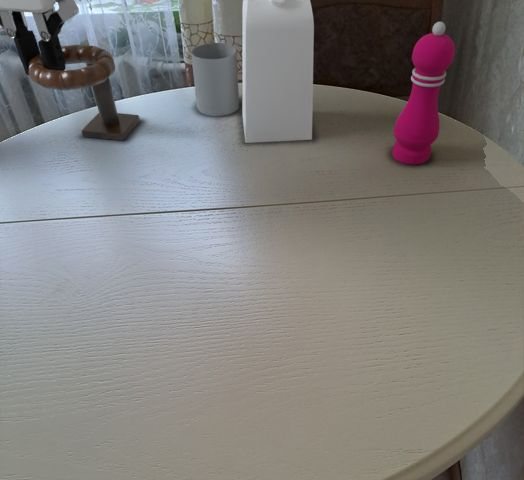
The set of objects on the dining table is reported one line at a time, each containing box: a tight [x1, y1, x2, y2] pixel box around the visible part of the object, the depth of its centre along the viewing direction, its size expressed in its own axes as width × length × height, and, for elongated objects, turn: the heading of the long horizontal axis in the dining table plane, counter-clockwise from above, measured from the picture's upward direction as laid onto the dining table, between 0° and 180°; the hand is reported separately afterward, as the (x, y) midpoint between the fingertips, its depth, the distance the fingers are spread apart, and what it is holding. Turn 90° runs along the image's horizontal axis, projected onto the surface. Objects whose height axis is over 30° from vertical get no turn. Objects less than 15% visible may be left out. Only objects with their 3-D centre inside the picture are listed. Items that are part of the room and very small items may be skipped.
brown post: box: [81, 63, 141, 142], centre depth 89 cm, size 8×8×13 cm
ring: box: [28, 44, 116, 91], centre depth 61 cm, size 10×10×2 cm
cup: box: [190, 42, 240, 117], centre depth 96 cm, size 8×8×10 cm
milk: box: [241, 0, 315, 144], centre depth 84 cm, size 12×12×26 cm
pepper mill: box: [391, 21, 456, 166], centre depth 78 cm, size 7×7×20 cm
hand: (46, 71), depth 62 cm, fingers closed on ring, 2 cm apart
